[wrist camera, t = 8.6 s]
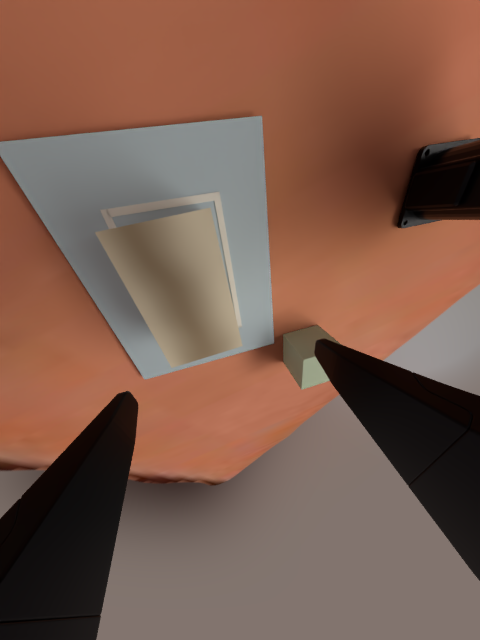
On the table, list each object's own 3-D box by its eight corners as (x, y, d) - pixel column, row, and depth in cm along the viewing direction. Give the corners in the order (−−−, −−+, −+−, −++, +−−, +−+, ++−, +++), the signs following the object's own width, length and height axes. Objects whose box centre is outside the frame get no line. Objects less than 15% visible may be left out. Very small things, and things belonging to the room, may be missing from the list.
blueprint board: (259, 119, 12) (262, 114, 12) (272, 340, 23) (274, 343, 22) (1, 146, 10) (-10, 141, 10) (145, 375, 21) (144, 380, 20)
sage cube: (317, 324, 24) (345, 347, 19) (314, 352, 26) (337, 377, 22) (282, 333, 23) (303, 359, 19) (283, 361, 25) (301, 389, 21)
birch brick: (204, 211, 14) (210, 207, 10) (231, 317, 19) (242, 346, 15) (125, 228, 13) (94, 232, 9) (176, 333, 18) (171, 368, 14)
